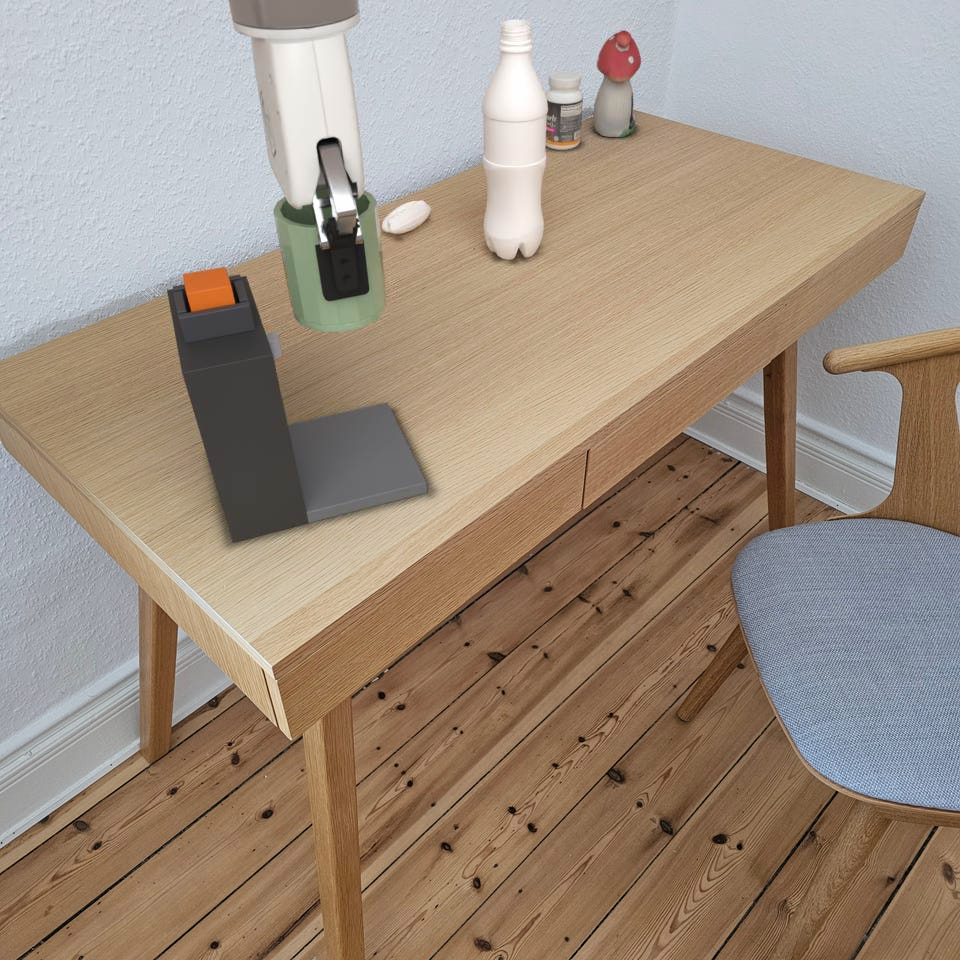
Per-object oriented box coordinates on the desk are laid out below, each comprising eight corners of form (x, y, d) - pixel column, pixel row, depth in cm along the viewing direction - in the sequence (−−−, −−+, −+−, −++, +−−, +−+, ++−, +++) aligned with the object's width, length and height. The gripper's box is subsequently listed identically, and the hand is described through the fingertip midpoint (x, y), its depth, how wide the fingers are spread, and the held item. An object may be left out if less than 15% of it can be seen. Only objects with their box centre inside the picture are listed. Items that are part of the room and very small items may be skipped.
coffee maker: (232, 543, 66) (174, 347, 55) (213, 452, 75) (159, 265, 63) (427, 493, 70) (412, 300, 59) (388, 412, 79) (368, 229, 67)
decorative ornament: (626, 143, 129) (636, 35, 119) (584, 138, 131) (591, 31, 121) (640, 123, 135) (651, 19, 126) (600, 118, 137) (608, 16, 127)
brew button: (194, 322, 59) (186, 293, 57) (189, 301, 61) (182, 273, 59) (237, 313, 60) (231, 285, 58) (232, 294, 62) (225, 266, 60)
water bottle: (508, 232, 107) (509, 11, 90) (554, 248, 103) (565, 21, 87) (471, 253, 103) (466, 25, 86) (518, 270, 99) (522, 36, 83)
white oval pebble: (379, 236, 107) (376, 215, 105) (418, 213, 111) (416, 192, 110) (398, 242, 105) (396, 221, 103) (437, 219, 110) (436, 198, 108)
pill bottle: (536, 141, 130) (537, 72, 124) (568, 135, 132) (572, 66, 125) (554, 153, 126) (556, 83, 120) (587, 147, 128) (591, 77, 122)
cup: (303, 340, 60) (284, 235, 55) (285, 295, 65) (265, 194, 60) (398, 321, 62) (387, 217, 57) (373, 278, 67) (362, 178, 62)
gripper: (210, -27, 55) (262, 231, 67) (252, 40, 43) (307, 341, 55) (324, -38, 57) (355, 215, 69) (395, 24, 45) (418, 318, 56)
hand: (333, 269), depth 62 cm, fingers closed on cup, 7 cm apart
